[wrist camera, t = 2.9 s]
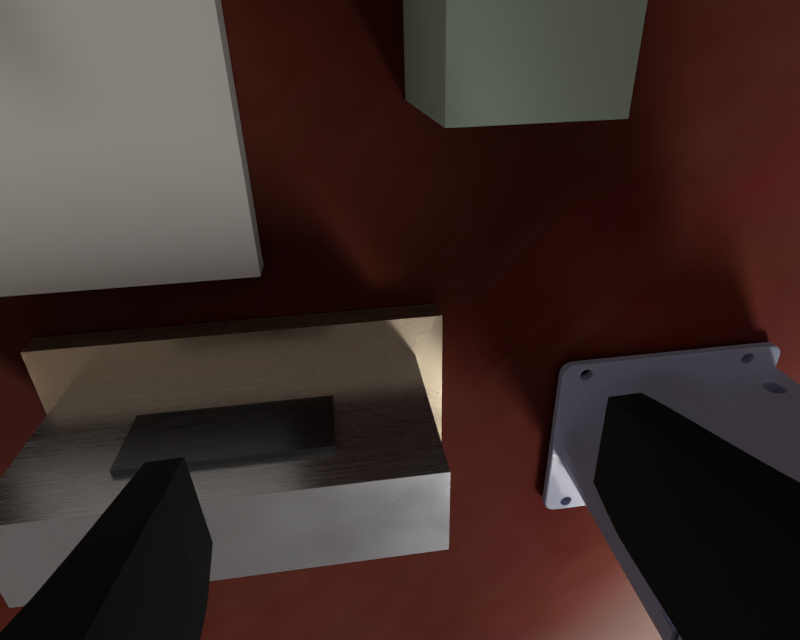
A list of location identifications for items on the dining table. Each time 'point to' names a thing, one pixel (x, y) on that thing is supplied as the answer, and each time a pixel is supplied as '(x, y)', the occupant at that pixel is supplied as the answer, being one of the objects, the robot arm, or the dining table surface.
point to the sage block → (521, 60)
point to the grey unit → (240, 439)
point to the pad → (120, 147)
